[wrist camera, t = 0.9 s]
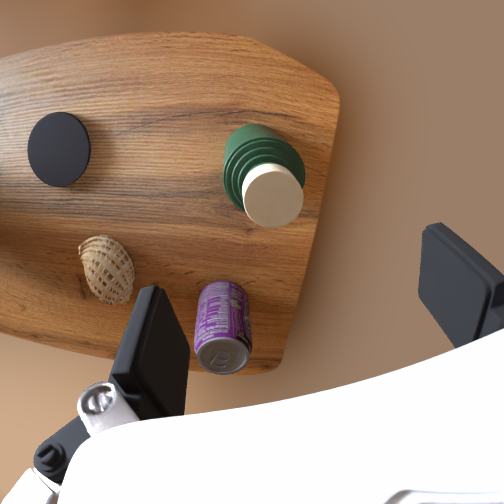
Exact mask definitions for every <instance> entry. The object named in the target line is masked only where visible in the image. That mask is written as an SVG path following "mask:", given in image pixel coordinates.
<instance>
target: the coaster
mask: <svg viewBox="0 0 504 504" xmlns="http://www.w3.org/2000/svg"><path fill="white" fill-rule="evenodd" d="M27 151H28V159H29V163H30V166H31V168H32V170H33V172H34V173H35V174H36V176H37V177H38V178H39V179H40V180H41V181H43V182H44V183H46V184H48V185H51V186H55V187H62V186H67V185H69V184H71V183H73V182H74V181H76V180H77V179H78V178H79V177H80V176H81V175H82V174H83V173H84V171H85V170H86V168H87V165H88V163H89V159H90V154H91V144H90V138H89V135H88V132H87V130H86V128H85V126H84V125H83V123H82V122H81V121H80V120H79V119H78V118H76V117H75V116H73V115H72V114H69V113H65V112H55V113H51V114H48V115H46V116H45V117H43V118H42V119H41V120H39V121H38V122H37V124H36V125H35V126H34V128H33V130H32V132H31V134H30V137H29V140H28V149H27Z"/></svg>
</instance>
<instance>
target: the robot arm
mask: <svg viewBox="0 0 504 504" xmlns="http://www.w3.org/2000/svg"><path fill="white" fill-rule="evenodd" d="M420 265H421V266H420V276H419V287H418V294H419V297H420V299H421V301H422V302H423V304H424V305H425V306H426V308H427V309H428V310H429V312H430V313H431V314H432V316H433V317H434V319H435V320H436V321H437V323H438V324H439V326H440V327H441V328H442V330H443V331H444V333H445V334H446V335H447V337H448V338H449V340H450V341H451V343H452V344H453V346H454V347H455V348H456V349H454V350H451V351H449V352H447V353H444V354H441V355H439V356H436V357H434V358H431V359H428V360H425V361H422V362H420V363H417V364H414V365H411V366H408V367H405V368H402V369H399V370H396V371H393V372H390V373H387V374H383V375H380V376H377V377H374V378H371V379H367V380H364V381H360V382H356V383H353V384H349V385H345V386H342V387H338V388H334V389H330V390H326V391H322V392H318V393H313V394H309V395H305V396H301V397H296V398H291V399H286V400H281V401H276V402H271V403H266V404H260V405H254V406H249V407H242V408H236V409H230V410H222V411H215V412H209V413H201V414H192V415H184V410H185V398H186V388H187V378H188V368H189V359H190V346H189V343H188V341H187V339H186V337H185V334H184V332H183V330H182V328H181V326H180V324H179V321H178V319H177V317H176V315H175V312H174V310H173V308H172V306H171V303H170V301H169V299H168V296H167V294H166V292H165V290H164V289H163V288H159V287H158V286H157V285H154V286H150V287H145V288H141V290H140V292H139V295H138V297H137V300H136V303H135V305H134V308H133V311H132V314H131V316H130V319H129V322H128V325H127V327H126V330H125V331H124V334H123V337H122V340H121V343H120V346H119V349H118V352H117V355H116V358H115V361H114V364H113V367H112V370H111V373H110V376H109V379H108V382H98V383H95V384H93V385H91V386H89V387H88V388H87V389H86V390H84V392H83V393H82V394H81V395H80V398H79V400H78V404H77V408H78V412H79V414H80V415H79V416H77V417H76V418H75V419H73V420H72V421H71V422H69V423H68V424H67V425H65V426H64V427H63V428H61V429H60V430H59V431H58V432H56V433H55V434H53V435H52V436H51V437H49V438H48V439H47V440H45V441H44V442H43V443H42V444H41V445H40V446H39V447H38V449H37V450H36V452H35V455H34V466H35V468H34V470H33V471H32V470H31V469H30V468H29V469H28V470H27V472H26V473H25V474H24V475H23V477H22V478H21V479H20V480H19V482H18V483H17V484H16V486H15V487H14V488H13V489H12V491H11V492H10V493H9V495H8V496H7V497H6V499H5V500H4V501H3V503H2V504H504V275H503V274H502V273H501V272H500V271H498V270H497V269H496V268H495V267H494V266H493V265H492V264H491V263H490V262H489V261H487V260H486V259H485V258H484V257H483V256H482V255H481V254H479V253H478V252H477V251H476V250H475V249H474V248H472V247H471V246H470V245H469V244H468V243H466V242H465V241H464V240H463V239H462V238H460V237H459V236H458V235H457V234H455V233H454V232H453V231H452V230H451V229H449V228H448V227H447V226H445V225H444V224H442V223H441V222H440V223H436V224H431V225H428V226H427V227H426V229H425V230H424V231H423V233H422V250H421V264H420Z"/></svg>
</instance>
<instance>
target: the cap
mask: <svg viewBox="0 0 504 504" xmlns="http://www.w3.org/2000/svg"><path fill="white" fill-rule="evenodd" d="M242 195H243V202H244V208H245V211H246V213H247V215H248V216H249V217H250V218H251V220H253V221H254V222H255V223H257V224H258V225H261V226H263V227H268V228H277V227H282V226H285V225H287V224H289V223H290V222H292V221H293V220H294V219H295V218H296V217H297V216H298V214H299V213H300V211H301V209H302V206H303V199H304V197H303V191H302V188H301V186H300V184H299V183H298V181H297V180H296V179H295V177H294V176H293V175H292V173H291V172H290V171H289V170H288V169H286V168H285V167H283V166H281V165H278V164H272V163H270V164H263V165H260V166H258V167H256V168H254V169H253V170H252V171H250V172H249V174H248V175H247V176H246V178H245V180H244V182H243V186H242Z"/></svg>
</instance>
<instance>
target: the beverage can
mask: <svg viewBox="0 0 504 504" xmlns="http://www.w3.org/2000/svg"><path fill="white" fill-rule="evenodd" d="M194 350H195V352H196V354H197V361H198V363H199V364H200V366H201V367H202V368H204V369H205V370H207V371H209V372H211V373H214V374H220V375H227V374H233V373H236V372H238V371H240V370H242V369H243V368H244V367H245V366H246V365H247V364H248V362H249V355H250V354H251V351H252V335H251V325H250V314H249V303H248V296H247V294H246V292H245V290H244V289H243V288H242V287H241V286H239V285H238V284H236V283H233V282H230V281H216V282H213V283H210V284H209V285H207V286H206V287H205V288H204V289H203V290H202V291H201V293H200V295H199V301H198V310H197V319H196V328H195V337H194Z"/></svg>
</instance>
